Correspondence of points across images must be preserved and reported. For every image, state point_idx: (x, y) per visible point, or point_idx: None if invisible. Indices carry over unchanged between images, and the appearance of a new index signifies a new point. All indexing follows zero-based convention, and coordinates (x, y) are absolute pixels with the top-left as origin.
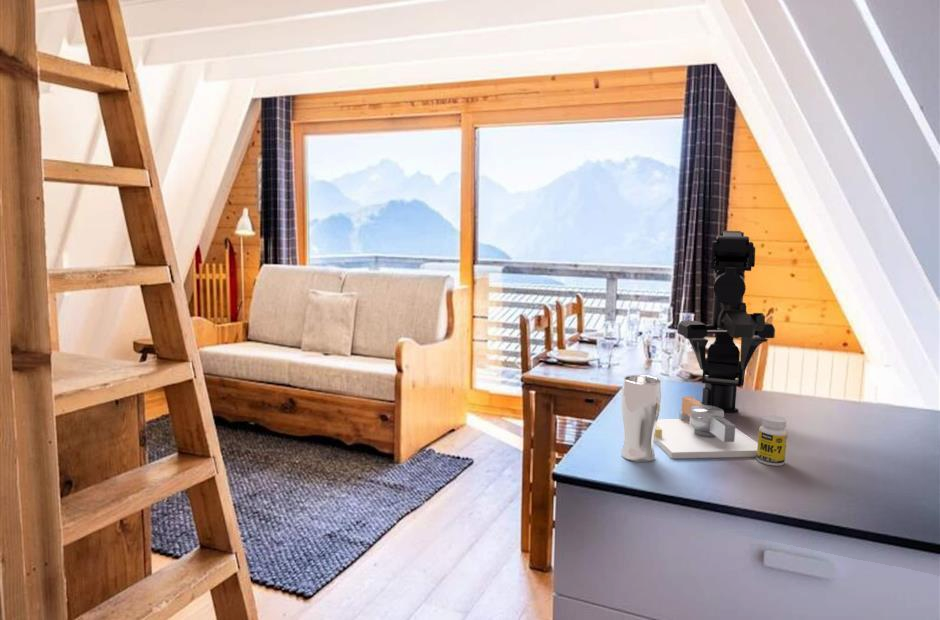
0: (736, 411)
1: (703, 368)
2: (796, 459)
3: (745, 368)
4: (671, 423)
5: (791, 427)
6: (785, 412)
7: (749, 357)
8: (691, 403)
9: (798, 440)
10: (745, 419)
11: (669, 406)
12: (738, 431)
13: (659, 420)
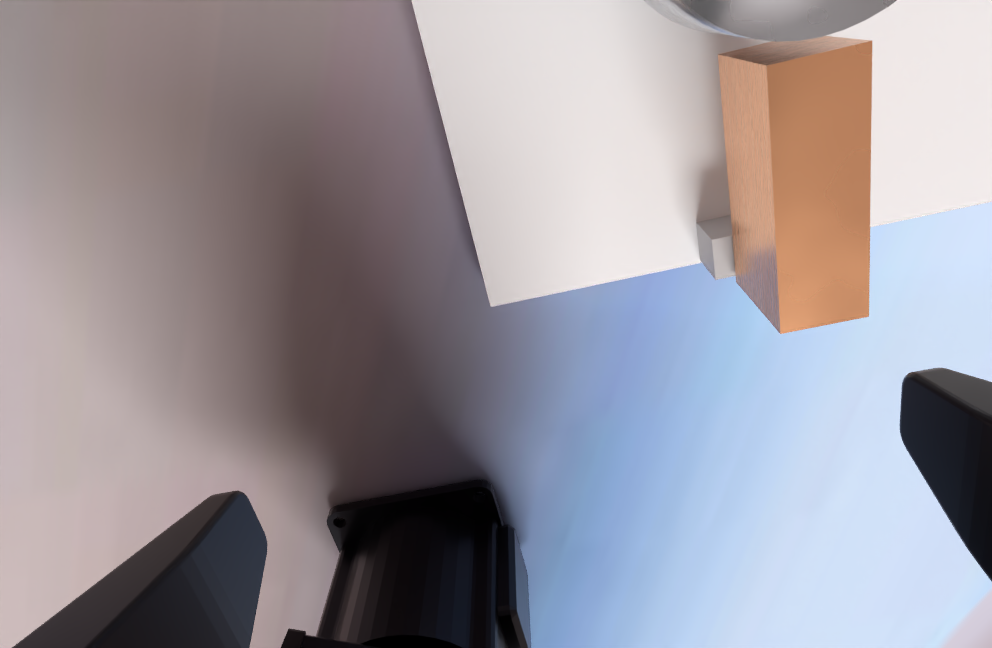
0: (342, 506)
1: (941, 371)
2: None
3: (207, 499)
4: (905, 122)
5: (41, 291)
6: (62, 543)
7: (43, 645)
8: (867, 120)
9: (4, 13)
10: (310, 395)
11: (714, 546)
12: (430, 10)
13: (967, 181)
